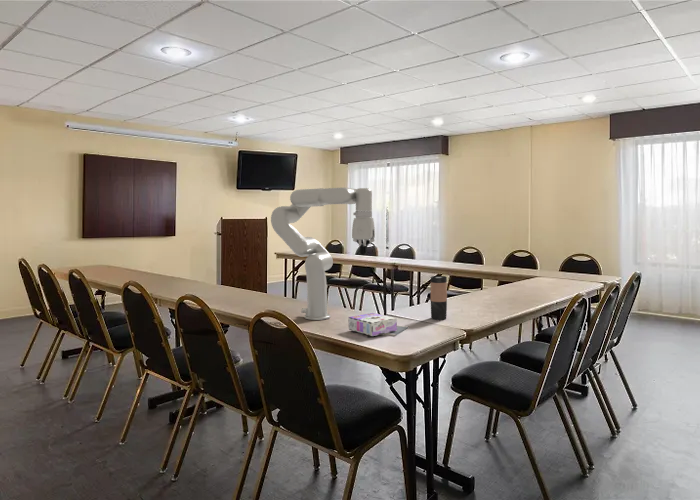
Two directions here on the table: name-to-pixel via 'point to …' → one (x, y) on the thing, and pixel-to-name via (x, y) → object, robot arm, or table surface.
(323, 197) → the robot arm
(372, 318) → the candy box
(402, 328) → the mat
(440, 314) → the travel mug
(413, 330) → the table surface
